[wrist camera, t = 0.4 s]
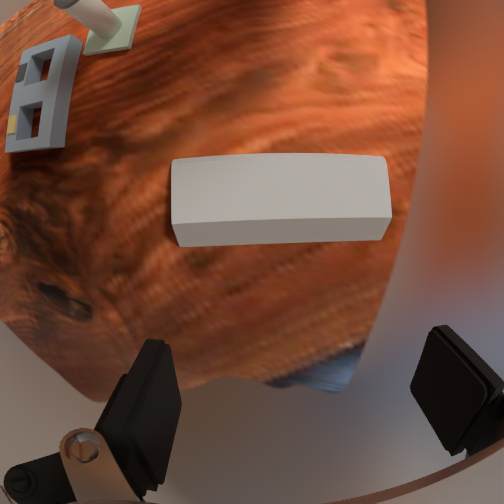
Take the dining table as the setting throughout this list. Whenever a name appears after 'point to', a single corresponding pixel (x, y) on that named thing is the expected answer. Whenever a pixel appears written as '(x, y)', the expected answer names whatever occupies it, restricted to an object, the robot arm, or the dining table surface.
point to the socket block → (43, 95)
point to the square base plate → (121, 39)
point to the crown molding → (279, 198)
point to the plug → (92, 16)
